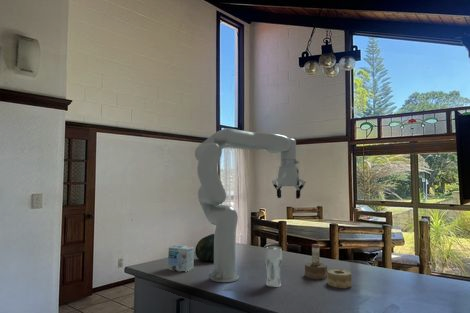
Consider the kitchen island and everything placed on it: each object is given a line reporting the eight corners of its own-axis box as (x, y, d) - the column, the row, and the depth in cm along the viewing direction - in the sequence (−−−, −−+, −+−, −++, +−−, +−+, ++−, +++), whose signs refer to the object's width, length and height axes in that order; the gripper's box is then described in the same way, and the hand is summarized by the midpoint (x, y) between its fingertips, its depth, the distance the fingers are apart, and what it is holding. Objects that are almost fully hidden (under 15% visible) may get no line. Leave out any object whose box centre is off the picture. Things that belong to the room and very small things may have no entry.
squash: (191, 247, 189) (197, 229, 181) (216, 246, 195) (223, 229, 187) (196, 269, 178) (203, 251, 170) (222, 268, 184) (230, 250, 176)
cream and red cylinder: (318, 277, 151) (318, 245, 152) (311, 276, 153) (311, 244, 154) (320, 275, 154) (320, 244, 155) (313, 274, 155) (313, 243, 156)
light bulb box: (167, 270, 162) (167, 247, 163) (175, 266, 168) (175, 244, 169) (187, 272, 158) (187, 248, 159) (194, 269, 164) (194, 246, 165)
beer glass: (271, 288, 135) (271, 250, 136) (261, 283, 141) (262, 247, 142) (285, 286, 138) (285, 248, 139) (275, 281, 144) (275, 245, 146)
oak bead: (352, 288, 136) (352, 275, 136) (329, 287, 137) (329, 274, 138) (348, 281, 145) (348, 269, 145) (326, 280, 146) (326, 268, 147)
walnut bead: (323, 280, 147) (323, 268, 147) (303, 277, 152) (302, 265, 152) (328, 275, 155) (328, 264, 155) (309, 272, 159) (309, 261, 160)
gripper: (307, 163, 168) (307, 198, 166) (275, 164, 176) (275, 197, 175) (302, 162, 161) (302, 199, 160) (269, 163, 170) (269, 197, 169)
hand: (288, 198), depth 168 cm, fingers open, 9 cm apart
